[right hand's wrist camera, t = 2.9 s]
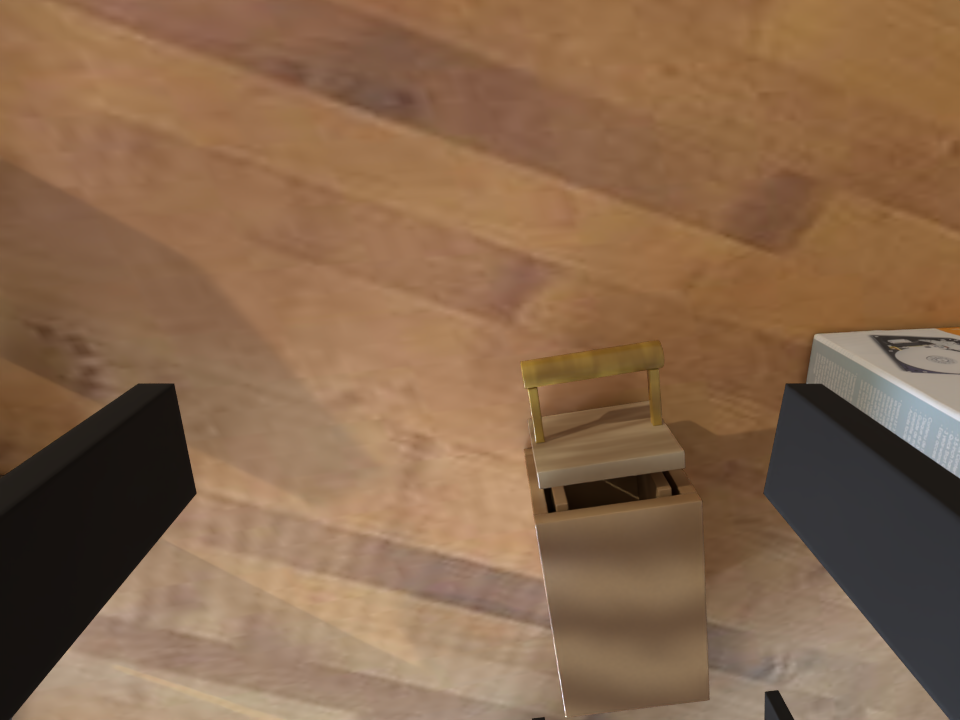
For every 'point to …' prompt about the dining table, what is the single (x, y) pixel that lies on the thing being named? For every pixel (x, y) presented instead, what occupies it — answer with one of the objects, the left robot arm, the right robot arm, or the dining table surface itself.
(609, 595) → the cabinet
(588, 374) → the drawer
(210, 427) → the dining table surface
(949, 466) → the hard drive box
